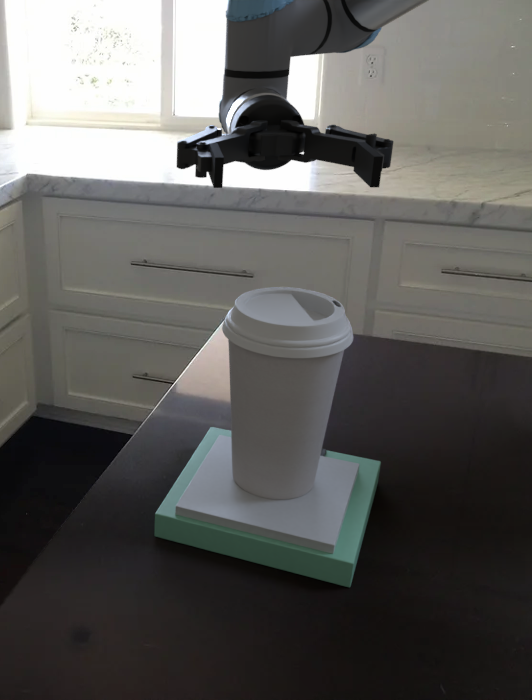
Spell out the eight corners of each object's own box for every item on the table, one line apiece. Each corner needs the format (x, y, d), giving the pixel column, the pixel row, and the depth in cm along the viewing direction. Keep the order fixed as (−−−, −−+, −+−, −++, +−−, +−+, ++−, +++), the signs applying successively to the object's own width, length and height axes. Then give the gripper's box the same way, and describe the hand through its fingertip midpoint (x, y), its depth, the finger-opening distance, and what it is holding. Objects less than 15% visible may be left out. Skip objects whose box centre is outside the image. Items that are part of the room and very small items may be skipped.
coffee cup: (330, 521, 65) (354, 337, 59) (203, 499, 68) (213, 322, 61) (337, 456, 73) (358, 289, 67) (223, 439, 76) (234, 278, 70)
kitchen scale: (209, 446, 81) (211, 418, 79) (377, 482, 75) (382, 452, 73) (153, 536, 68) (154, 504, 67) (350, 588, 62) (355, 554, 61)
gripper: (376, 162, 96) (437, 214, 76) (149, 164, 98) (153, 214, 78) (385, 92, 93) (450, 127, 73) (150, 95, 94) (154, 130, 75)
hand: (297, 172), depth 76 cm, fingers open, 13 cm apart
